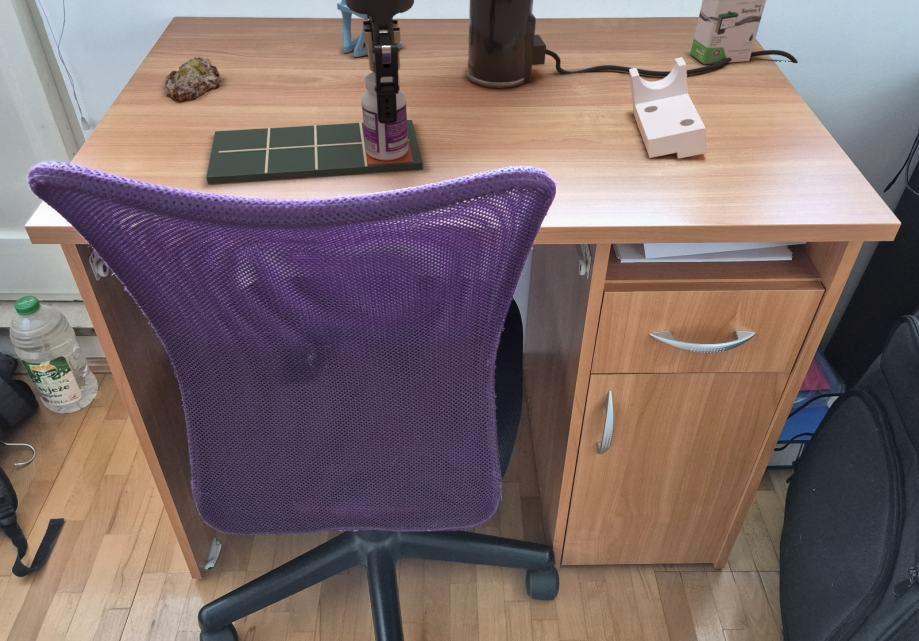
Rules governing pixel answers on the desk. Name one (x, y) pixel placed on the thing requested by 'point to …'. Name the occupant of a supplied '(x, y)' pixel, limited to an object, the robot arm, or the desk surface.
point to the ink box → (726, 30)
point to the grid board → (301, 153)
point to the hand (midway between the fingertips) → (385, 110)
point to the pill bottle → (384, 125)
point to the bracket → (667, 114)
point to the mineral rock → (192, 79)
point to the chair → (358, 42)
